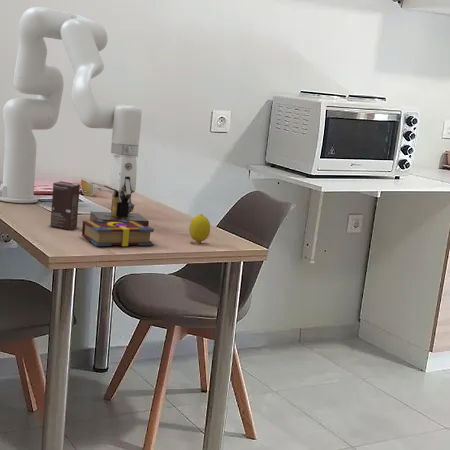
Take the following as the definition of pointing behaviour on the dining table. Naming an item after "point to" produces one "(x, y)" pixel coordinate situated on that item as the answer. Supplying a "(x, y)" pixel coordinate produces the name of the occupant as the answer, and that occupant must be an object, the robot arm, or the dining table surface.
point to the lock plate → (108, 217)
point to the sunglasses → (92, 187)
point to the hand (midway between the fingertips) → (119, 214)
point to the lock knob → (115, 206)
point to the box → (65, 205)
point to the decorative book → (116, 233)
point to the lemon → (199, 228)
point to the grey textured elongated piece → (130, 205)
